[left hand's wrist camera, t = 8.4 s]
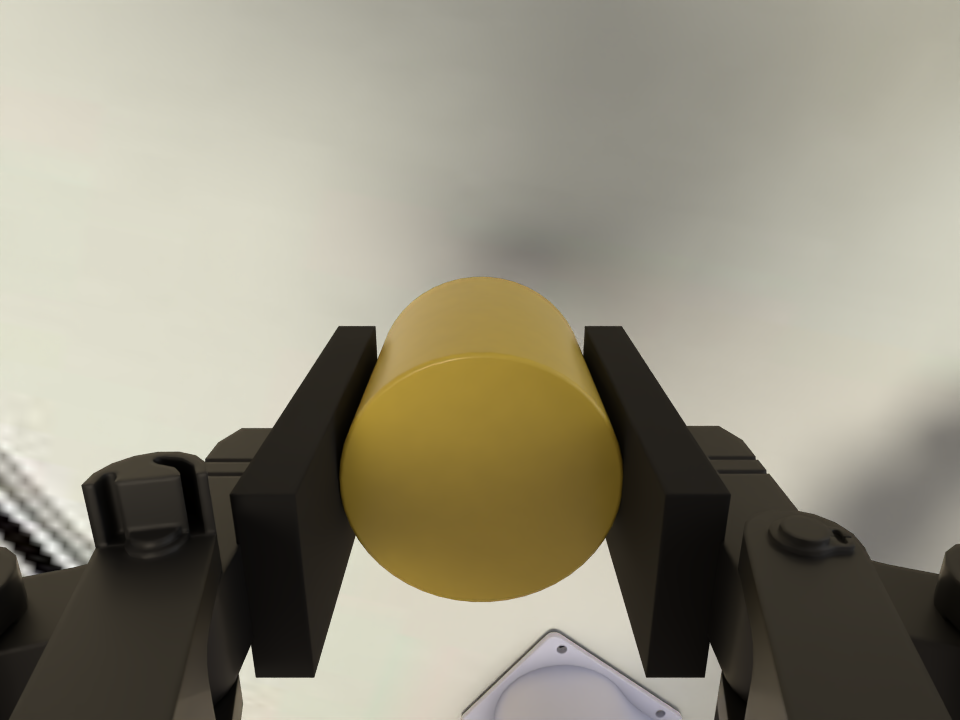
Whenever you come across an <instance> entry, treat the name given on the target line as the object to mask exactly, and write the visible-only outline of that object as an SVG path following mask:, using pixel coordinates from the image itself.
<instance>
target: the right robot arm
mask: <svg viewBox="0 0 960 720" xmlns="http://www.w3.org/2000/svg"><path fill="white" fill-rule="evenodd" d="M559 646H565V647H563V648H559ZM659 710H661V711H659ZM461 720H682V717H681V714H680V713H679V712H678V711H676V710H675V709H673V708H672V707H670V706H669V705H667V704H666V703H664V702H663V701H661V700H660V699H658V698H657V697H655V696H654V695H652V694H651V693H649V692H648V691H646V690H645V689H643V688H642V687H640V686H639V685H637V684H636V683H634V682H633V681H631V680H629V679H628V678H626V677H625V676H623V675H622V674H620V673H619V672H617V671H616V670H614V669H613V668H611V667H610V666H608V665H607V664H605V663H604V662H602V661H601V660H599V659H598V658H596V657H595V656H593V655H592V654H590V653H589V652H587V651H586V650H584V649H583V648H581V647H579V646H578V645H576V644H575V643H573V642H572V641H570V640H569V639H567V638H566V637H564V636H563V635H561V634H560V633H557V632H552V633H549V634H547V635H546V636H545V637H544V638H543V639H542V640H541V641H540V642H539V643H538V644H536V645H535V646H534V647H533V648H532V649H531V650H530V651H529V652H528V653H527V654H526V655H525V656H524V657H523V658H522V659H521V660H520V661H519V662H518V663H517V664H515V665H514V666H513V667H512V668H511V669H510V670H509V671H508V672H507V673H506V674H505V675H504V676H503V677H502V678H501V679H500V680H499V681H498V682H497V683H496V684H494V685H493V686H492V687H491V688H490V689H489V690H488V691H487V692H486V693H485V694H484V695H483V696H482V697H481V698H480V699H479V700H478V701H477V702H476V703H475V704H473V705H472V706H471V707H470V708H469V709H468V710H467V711H466V712H465V713H464V714H463V715H462V717H461Z"/></svg>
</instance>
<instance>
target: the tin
mask: <svg viewBox="0 0 960 720" xmlns="http://www.w3.org/2000/svg"><path fill="white" fill-rule="evenodd" d="M622 482H623V459H622V455H621V450H620V446H619V443H618V440H617V437H616V435H615V432H614V430H613V427H612V425H611V422H610V420H609V417H608V415H607V413H606V410H605V408H604V405H603V403H602V400H601V398H600V396H599V393H598V391H597V388H596V386H595V383H594V381H593V379H592V376H591V374H590V371H589V369H588V367H587V364H586V362H585V359H584V357H583V354H582V352H581V350H580V347H579V345H578V342H577V340H576V337H575V335H574V333H573V331H572V329H571V327H570V326H569V324H568V322H567V321H566V319H565V318H564V317H563V315H562V314H561V313H560V311H559V310H558V309H557V308H556V307H555V306H554V305H553V304H552V303H551V302H549V301H548V300H547V299H545V298H544V297H543V296H541V295H540V294H539V293H537V292H535V291H533V290H532V289H530V288H528V287H526V286H523V285H521V284H518V283H516V282H512V281H509V280H505V279H500V278H492V277H470V278H462V279H457V280H453V281H450V282H446V283H444V284H441V285H439V286H436V287H434V288H432V289H430V290H429V291H427V292H425V293H423V294H422V295H420V296H419V297H418V298H417V299H415V300H414V301H413V302H411V303H410V304H409V305H408V306H407V307H406V308H405V309H404V310H403V311H402V313H401V314H400V315H399V317H398V318H397V319H396V320H395V322H394V324H393V325H392V327H391V329H390V331H389V332H388V335H387V337H386V340H385V342H384V345H383V347H382V350H381V352H380V354H379V357H378V359H377V362H376V364H375V367H374V369H373V372H372V374H371V377H370V379H369V382H368V384H367V387H366V389H365V392H364V394H363V397H362V399H361V402H360V404H359V407H358V409H357V412H356V414H355V417H354V419H353V422H352V424H351V427H350V429H349V432H348V434H347V437H346V439H345V442H344V445H343V449H342V454H341V458H340V468H339V485H340V495H341V499H342V503H343V507H344V511H345V513H346V516H347V518H348V521H349V523H350V526H351V528H352V529H353V531H354V533H355V535H356V536H357V538H358V540H359V541H360V543H361V544H362V545H363V547H364V548H365V549H366V551H367V552H368V553H369V554H370V555H371V556H372V557H373V558H374V559H375V560H376V561H377V562H378V563H379V564H380V565H381V566H382V567H383V568H385V569H386V570H387V571H388V572H390V573H391V574H392V575H394V576H395V577H397V578H399V579H400V580H402V581H403V582H405V583H407V584H409V585H411V586H413V587H415V588H417V589H419V590H422V591H424V592H427V593H430V594H433V595H436V596H439V597H444V598H449V599H453V600H460V601H469V602H493V601H503V600H509V599H514V598H519V597H523V596H526V595H529V594H532V593H535V592H538V591H541V590H543V589H545V588H547V587H550V586H552V585H554V584H556V583H557V582H559V581H561V580H562V579H564V578H566V577H567V576H569V575H570V574H572V573H573V572H574V571H575V570H577V569H578V568H579V567H580V566H582V565H583V564H584V563H585V562H586V561H587V560H588V559H589V558H590V557H591V556H592V555H593V554H594V553H595V551H596V550H597V549H598V547H599V546H600V545H601V543H602V542H603V541H604V539H605V538H606V536H607V534H608V532H609V530H610V529H611V527H612V525H613V523H614V520H615V517H616V515H617V512H618V510H619V506H620V501H621V494H622Z"/></svg>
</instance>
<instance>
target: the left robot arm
mask: <svg viewBox="0 0 960 720" xmlns="http://www.w3.org/2000/svg"><path fill="white" fill-rule="evenodd" d="M583 357H584V359H585V362H586V364H587V367H588V369H589V371H590V374H591V376H592V379H593V381H594V383H595V386H596V388H597V391H598V393H599V396H600V398H601V400H602V403H603V405H604V408H605V410H606V413H607V415H608V417H609V420H610V422H611V425H612V427H613V430H614V432H615V435H616V437H617V440H618V443H619V446H620V450H621V455H622V459H623V482H622V494H621V501H620V506H619V510H618V512H617V515H616V517H615V520H614V523H613V525H612V527H611V529H610V530H609V532H608V534H607V536H606V541H607V545H608V548H609V551H610V555H611V558H612V562H613V565H614V569H615V572H616V575H617V579H618V582H619V586H620V589H621V593H622V596H623V599H624V603H625V606H626V610H627V613H628V617H629V620H630V623H631V627H632V630H633V634H634V637H635V641H636V644H637V647H638V651H639V654H640V658H641V661H642V665H643V668H644V671H645V675H646V678H705V671H706V665H707V658H708V651H709V644H710V643H711V646H712V648H713V650H714V653H715V655H716V657H717V660H718V662H719V664H720V667H721V669H722V673H721V680H720V686H719V692H718V699H717V705H716V712H715V718H714V720H960V544H956V545H954V546H953V547H952V548H950V549H949V550H948V551H946V552H945V556H944V560H943V563H942V567H941V570H940V574H935V573H930V572H924V571H919V570H914V569H909V568H903V567H898V566H893V565H888V564H884V563H879V562H875V561H871V559H870V557H869V555H868V553H867V551H866V549H865V547H864V546H863V545H862V544H861V543H860V541H859V540H858V539H857V538H856V537H855V535H854V534H852V533H851V532H849V531H848V530H846V529H845V528H843V527H842V526H840V525H838V524H837V523H835V522H833V521H830V520H828V519H825V518H822V517H820V516H817V515H815V514H810V513H806V512H801V511H798V510H797V508H796V507H795V506H794V505H793V503H792V502H791V501H790V500H789V498H788V497H787V496H786V494H785V493H784V492H783V491H782V489H781V488H780V487H779V486H778V484H777V483H776V482H775V481H774V479H773V478H772V477H771V476H770V474H767V473H766V469H765V468H764V467H763V465H762V464H761V463H760V462H759V460H756V459H755V455H754V454H753V453H752V451H751V450H750V449H749V448H748V446H747V445H746V444H745V443H744V441H743V440H741V439H740V438H738V437H736V436H735V435H733V434H731V433H730V432H728V431H726V430H725V429H723V428H721V427H720V426H686V424H685V423H684V421H683V420H682V418H681V417H680V415H679V414H678V412H677V411H676V409H675V407H674V406H673V404H672V403H671V401H670V400H669V398H668V397H667V395H666V394H665V392H664V391H663V389H662V387H661V386H660V384H659V383H658V381H657V380H656V378H655V377H654V375H653V374H652V372H651V371H650V369H649V367H648V366H647V364H646V363H645V361H644V360H643V358H642V357H641V355H640V354H639V352H638V351H637V349H636V347H635V346H634V344H633V343H632V341H631V340H630V338H629V337H628V335H627V334H626V332H625V331H624V329H623V327H622V326H585V335H584V353H583ZM376 362H377V345H376V327H375V326H339V327H338V328H337V330H336V331H335V333H334V334H333V336H332V337H331V339H330V340H329V342H328V344H327V345H326V347H325V348H324V350H323V351H322V353H321V354H320V356H319V357H318V359H317V360H316V362H315V364H314V365H313V367H312V368H311V370H310V371H309V373H308V374H307V376H306V377H305V379H304V380H303V382H302V384H301V385H300V387H299V388H298V390H297V391H296V393H295V394H294V396H293V397H292V399H291V400H290V402H289V404H288V405H287V407H286V408H285V410H284V411H283V413H282V414H281V416H280V417H279V419H278V420H277V422H276V424H275V425H274V427H273V428H241V429H240V430H238V431H236V432H235V433H233V434H232V435H230V436H228V437H227V438H225V439H223V440H222V441H220V442H218V443H217V445H216V446H215V447H214V449H213V450H212V451H211V452H210V454H209V455H208V456H207V458H206V459H205V462H204V461H203V460H202V459H200V458H199V457H197V456H196V455H192V454H187V453H183V452H155V453H149V454H143V455H137V456H133V457H130V458H127V459H124V460H121V461H118V462H115V463H112V464H110V465H108V466H106V467H105V468H103V469H101V470H99V471H97V472H95V473H94V474H92V475H91V476H90V477H89V478H88V479H87V480H86V481H85V482H84V483H83V484H82V485H81V486H82V490H83V494H84V499H85V503H86V507H87V512H88V516H89V521H90V525H91V529H92V534H93V538H94V542H95V547H96V549H95V551H94V553H93V555H92V556H91V558H90V560H89V562H88V564H85V565H81V566H77V567H73V568H68V569H63V570H58V571H52V572H47V573H42V574H37V575H31V576H26V577H22V575H21V572H20V568H19V564H18V561H17V557H16V555H15V554H13V553H12V552H11V551H10V550H8V549H7V548H5V547H0V720H241V715H242V707H243V700H242V693H241V686H240V680H239V671H240V669H241V667H242V664H243V662H244V660H245V657H246V655H247V653H248V650H249V648H250V646H251V647H252V654H253V661H254V668H255V675H256V678H314V677H315V673H316V670H317V666H318V663H319V659H320V656H321V652H322V649H323V646H324V642H325V639H326V635H327V632H328V628H329V625H330V622H331V618H332V615H333V611H334V608H335V604H336V601H337V598H338V594H339V591H340V587H341V584H342V580H343V577H344V574H345V570H346V567H347V563H348V560H349V556H350V553H351V549H352V546H353V543H354V539H355V536H356V535H355V533H354V531H353V529H352V528H351V526H350V523H349V521H348V518H347V516H346V513H345V511H344V507H343V503H342V499H341V495H340V485H339V468H340V458H341V454H342V449H343V445H344V442H345V439H346V437H347V434H348V432H349V429H350V427H351V424H352V422H353V419H354V417H355V414H356V412H357V409H358V407H359V404H360V402H361V399H362V397H363V394H364V392H365V389H366V387H367V384H368V382H369V379H370V377H371V374H372V372H373V369H374V367H375V364H376Z"/></svg>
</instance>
